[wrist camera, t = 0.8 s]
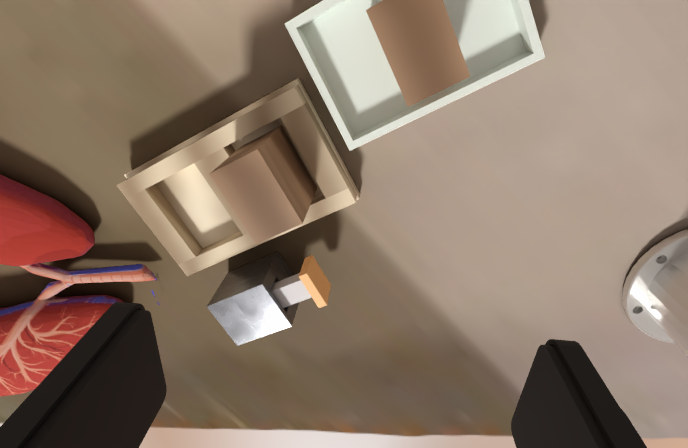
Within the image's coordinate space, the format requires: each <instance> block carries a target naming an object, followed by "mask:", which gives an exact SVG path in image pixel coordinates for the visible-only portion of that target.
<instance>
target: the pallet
mask: <svg viewBox="0 0 688 448" xmlns="http://www.w3.org/2000/svg"><path fill="white" fill-rule="evenodd" d="M281 125H282V126H283V128H284V130H285V131H286V133H287V135H288V137H289V139H290V140H291V142H292V144H293V146H294V147H295V149H296V151H297V153H298V154H299V156H300V158H301V160H302V161H303V163H304V165H305V167H306V168H307V170H308V172H309V174H310V175H311V177H312V179H313V181H314V183H315V184H316V186H317V190H316V192H315V195H314V197H313V200H312V202H311V204H310V207H309V209H308V212H307V214H306V217H305V219H304V222H303V224H301V225H298V226H296V227H294V228H291V229H289V230H287V231H285V232H282V233H280V234H278V235H275V236H273V237H271V238H269V239H266V240H264V241H262V242H259V243H257V244H256V243H255V241H254V240H253V238H252V237H251V236H250V234H249V233H248V231H247V230H246V228H245V227H244V225H243V224H242V222H241V221H240V219H239V218H238V216H237V215H236V213H235V212H234V210H233V209H232V207H231V206H230V204H229V203H228V201H227V200H226V198H225V197H224V195H223V194H222V192H221V191H220V189H219V188H218V187H217V185H216V184H215V182H214V181H213V179H212V178H211V176H210V175H209V174H210V173H211V172H212V171H213V170H214V169H216V168H217V167H218V166H219V165H220V164H221V163H223V162H224V161H225V160H226V159H227V158H228V157H230V156H231V155H232V154H233V153H234V152H235V151H237V150H238V149H239V148H240V147H241V146H243V145H245V144H247V143H248V142H250V141H252V140H254V139H256V138H258V137H260V136H262V135H264V134H266V133H268V132H269V131H271V130H273V129H275V128H277V127H279V126H281ZM124 176H125V177H126V178H127V179H126V180H124V181H123V182H121V183H119V184H118V185H117V187H118V188H119V189H120V191H121V192H122V193H123V194H124V196H125V197H126V198H127V200H128V201H129V202H130V203H131V205H132V206H133V207H134V209H135V210H136V211H137V212H138V214H139V215H140V216H141V218H142V219H143V220H144V221H145V223H146V224H147V225H148V227H149V228H150V229H151V230H152V232H153V233H154V234H155V235H156V237H157V238H158V239H159V241H160V242H161V243H162V244H163V246H164V247H165V248H166V250H167V251H168V252H169V253H170V255H171V256H172V257H173V259H174V260H175V261H176V262H177V264H178V265H179V266H180V268H181V269H182V270H183V271H184V273H185V274H186V275H187V276H189V275H191V274H193V273H195V272H198V271H200V270H202V269H205V268H207V267H209V266H212V265H214V264H216V263H218V262H221V261H223V260H225V259H228V258H230V257H232V256H234V255H237V254H239V253H241V252H244V251H246V250H248V249H251V248H253V247H255V246H257V245H260V244H262V243H264V242H267V241H269V240H271V239H274V238H276V237H278V236H280V235H283V234H285V233H287V232H290V231H292V230H294V229H296V228H299V227H301V226H303V225H306V224H308V223H310V222H313V221H315V220H317V219H319V218H322V217H324V216H326V215H329V214H331V213H333V212H335V211H338V210H340V209H342V208H345V207H347V206H349V205H352V204H354V203H356V200H358V199H359V197H360V193H359V191H358V189H357V187H356V185H355V183H354V182H353V180H352V178H351V176H350V174H349V172H348V170H347V168H346V166H345V164H344V163H343V161H342V159H341V157H340V155H339V153H338V151H337V149H336V147H335V146H334V144H333V142H332V140H331V138H330V136H329V134H328V132H327V130H326V128H325V127H324V125H323V123H322V121H321V119H320V117H319V115H318V113H317V111H316V109H315V108H314V106H313V104H312V102H311V100H310V98H309V96H308V94H307V92H306V90H305V89H304V87H303V85H302V83H301V81H300V79H299V78H297V79H295V80H294V81H292V82H290V83H288V84H286V85H285V86H283V87H281V88H279V89H277V90H276V91H274V92H272V93H270V94H268V95H267V96H265V97H263V98H261V99H260V100H258V101H256V102H254V103H252V104H251V105H249V106H247V107H245V108H243V109H242V110H240V111H238V112H236V113H234V114H233V115H231V116H229V117H227V118H225V119H224V120H222V121H220V122H218V123H216V124H215V125H213V126H211V127H209V128H207V129H206V130H204V131H202V132H200V133H198V134H197V135H195V136H193V137H191V138H189V139H188V140H186V141H184V142H182V143H180V144H179V145H177V146H175V147H173V148H171V149H170V150H168V151H166V152H164V153H162V154H161V155H159V156H157V157H155V158H153V159H152V160H150V161H148V162H146V163H145V164H143V165H141V166H139V167H137V168H136V169H134V170H132V171H130V172H128V173H127V174H125V175H124Z"/></svg>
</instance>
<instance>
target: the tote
mask: <svg viewBox="0 0 688 448" xmlns="http://www.w3.org/2000/svg"><path fill="white" fill-rule="evenodd" d="M381 1H382V0H323V1H321V2H319V3H318V4H316V5H314V6H313V7H311V8H310V9H308V10H306V11H305V12H303V13H301V14H300V15H298V16H296V17H295V18H293V19H291V20H290V21H288V22H286V23H285V26H286V28H287V30H288V32H289V34H290V36H291V38H292V40H293V41H294V43H295V45H296V47H297V49H298V51H299V53H300V55H301V57H302V59H303V61H304V63H305V65H306V67H307V69H308V71H309V73H310V75H311V77H312V78H313V80H314V82H315V84H316V86H317V88H318V90H319V92H320V94H321V96H322V98H323V100H324V102H325V104H326V106H327V108H328V110H329V112H330V113H331V115H332V117H333V119H334V121H335V123H336V125H337V127H338V129H339V131H340V133H341V135H342V137H343V139H344V141H345V143H346V145H347V147H348V149H349V150H350V151H351V150H353V149H355V148H357V147H359V146H361V145H363V144H365V143H367V142H369V141H372V140H374V139H376V138H378V137H380V136H382V135H384V134H386V133H388V132H390V131H392V130H395V129H397V128H399V127H401V126H403V125H405V124H407V123H409V122H411V121H413V120H416V119H418V118H420V117H422V116H424V115H426V114H428V113H430V112H432V111H434V110H436V109H439V108H441V107H443V106H445V105H447V104H449V103H451V102H453V101H455V100H457V99H459V98H462V97H464V96H466V95H468V94H470V93H472V92H474V91H476V90H478V89H480V88H482V87H485V86H487V85H489V84H491V83H493V82H495V81H497V80H499V79H501V78H503V77H506V76H508V75H510V74H512V73H514V72H516V71H518V70H520V69H522V68H524V67H526V66H529V65H531V64H533V63H535V62H537V61H539V60H541V59H543V58H545V56H544V52H543V49H542V45H541V42H540V38H539V35H538V31H537V28H536V24H535V21H534V17H533V14H532V10H531V7H530V3H529V0H443V2H444V5H445V8H446V10H447V13H448V16H449V19H450V21H451V24H452V27H453V30H454V32H455V35H456V38H457V41H458V43H459V46H460V49H461V52H462V54H463V57H464V60H465V63H466V65H467V68H468V71H469V74H470V76H471V77H469V78H466V79H464V80H462V81H460V82H458V83H456V84H454V85H452V86H450V87H448V88H446V89H444V90H442V91H440V92H438V93H436V94H434V95H432V96H430V97H428V98H426V99H424V100H422V101H419V102H417V103H415V104H413V105H411V106H409V107H408V106H407V104H406V101H405V99H404V97H403V95H402V92H401V90H400V88H399V85H398V83H397V81H396V78H395V76H394V74H393V72H392V69H391V67H390V65H389V62H388V60H387V58H386V56H385V53H384V51H383V49H382V46H381V44H380V42H379V39H378V37H377V35H376V33H375V30H374V28H373V26H372V23H371V21H370V19H369V16H368V14H367V12H366V10H367V9H369V8H370V7H372V6H374V5H375V4H377V3H379V2H381Z"/></svg>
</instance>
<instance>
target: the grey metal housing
mask: <svg viewBox="0 0 688 448" xmlns="http://www.w3.org/2000/svg"><path fill="white" fill-rule="evenodd" d="M291 276H293V274H292V272H291V271H290V269H289V268H288V266H287V265H286V263H285V262H284V260H283V259H282V257H281V256H280V254H279V253H278V251H277V252H275V253H272V254H270V255H268V256H265V257H263V258H261V259H258V260H256V261H253V262H251V263H249V264H246V265H244V266H242V267H239V268H237V269H235V270H232V271H230V272H228V274H227V275H226V277H225V278H224V280H223V282H222V283H221V285H220V286H219V288H218V289H217V291H216V293H215V294H214V296H213V297H212V299H211V301H210V302H209V304H208V305H207V307H208V309H209V310H210V311H211V313H212V314H213V315H214V316H215V318H216V319H217V320H218V321H219V323H220V324H221V325H222V327H223V328H224V329H225V330H226V332H227V333H228V334H229V336H230V337H231V338H232V339H233V341H234V342H235V343H236V344H237V346H238V345H241V344H244V343H247V342H249V341H252V340H255V339H258V338H261V337H263V336H266V335H269V334H272V333H275V332H277V331H280V330H283V329H286V328H289V327H291V326H292V323H293V320H294V317H295V314H296V310H297V307H298V304H299V302H298V303H295V304H293V305H290V306H287V307H285V308H283V307H282V306H281V304H280V303H279V301H278V300H277V298H276V297H275V295H274V294H273V293H272V291H271V288H272V285H273V283H276V282H278V281H281V280H283V279H286V278H288V277H291Z"/></svg>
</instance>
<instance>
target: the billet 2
mask: <svg viewBox="0 0 688 448" xmlns="http://www.w3.org/2000/svg"><path fill="white" fill-rule="evenodd" d="M366 12H367V14H368V16H369V19H370V21H371V23H372V26H373V28H374V30H375V33H376V35H377V37H378V39H379V42H380V44H381V46H382V49H383V51H384V53H385V56H386V58H387V60H388V62H389V65H390V67H391V69H392V72H393V74H394V76H395V78H396V81H397V83H398V85H399V88H400V90H401V92H402V95H403V97H404V99H405V101H406V104H407V106H408V107H409V106H411V105H413V104H415V103H417V102H419V101H422V100H424V99H426V98H428V97H430V96H432V95H434V94H436V93H438V92H440V91H442V90H444V89H446V88H448V87H450V86H452V85H454V84H456V83H458V82H460V81H462V80H464V79H466V78H469V77H471V76H470V74H469V71H468V68H467V65H466V63H465V60H464V57H463V54H462V52H461V49H460V46H459V43H458V41H457V38H456V35H455V32H454V30H453V27H452V24H451V21H450V19H449V16H448V13H447V10H446V8H445V5H444V2H443V0H382V1H381V2H379V3H377V4H375V5H374V6H372V7H370V8H369V9H367V10H366Z"/></svg>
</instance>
